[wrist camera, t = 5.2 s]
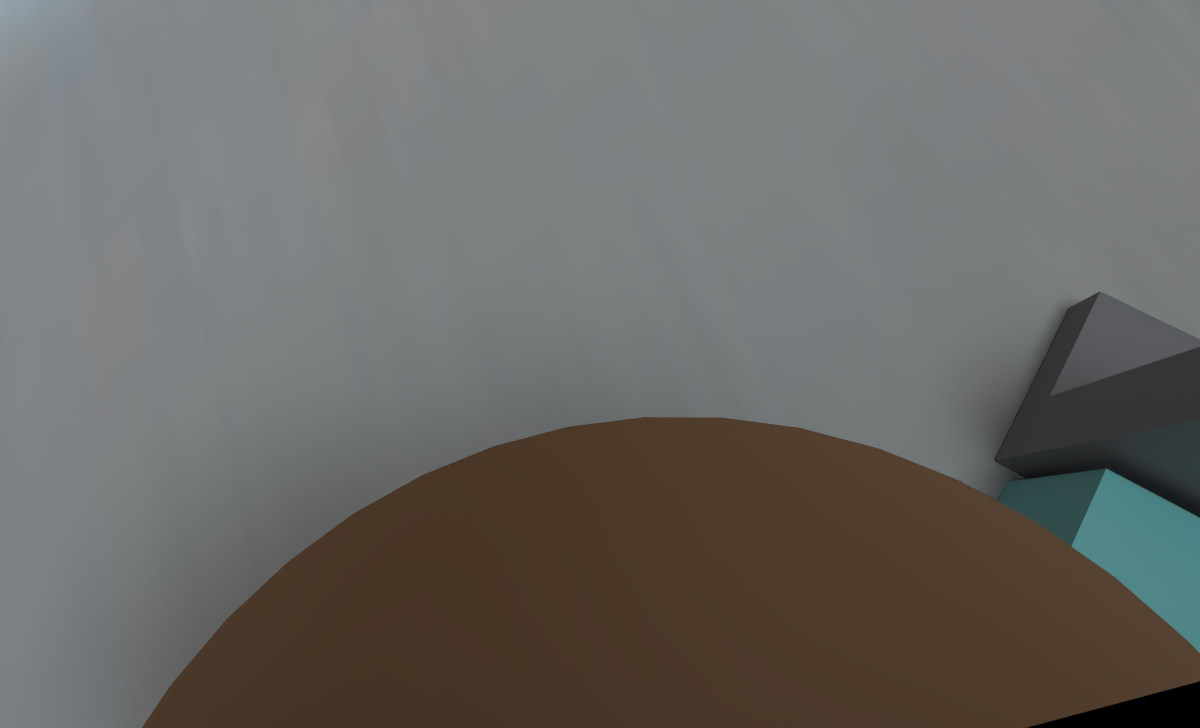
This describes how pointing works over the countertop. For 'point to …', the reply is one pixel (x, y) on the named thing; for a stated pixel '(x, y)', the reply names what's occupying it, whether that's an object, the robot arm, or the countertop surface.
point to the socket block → (1123, 537)
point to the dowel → (688, 600)
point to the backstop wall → (1114, 403)
